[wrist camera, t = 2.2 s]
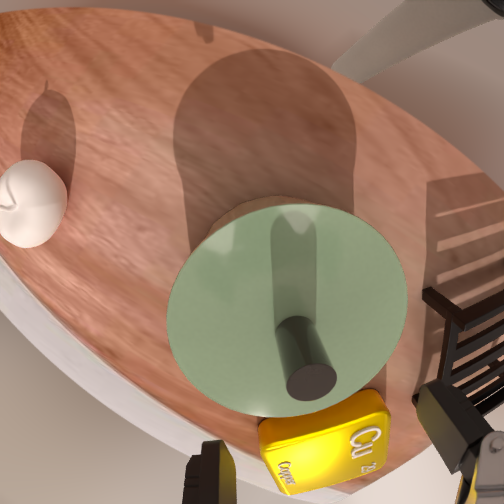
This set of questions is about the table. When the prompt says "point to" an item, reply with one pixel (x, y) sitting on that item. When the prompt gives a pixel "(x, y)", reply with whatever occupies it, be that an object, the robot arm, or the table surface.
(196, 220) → the table surface
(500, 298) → the rack
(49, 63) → the table surface
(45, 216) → the apple
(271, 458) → the element tile
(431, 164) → the table surface
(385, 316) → the lid
